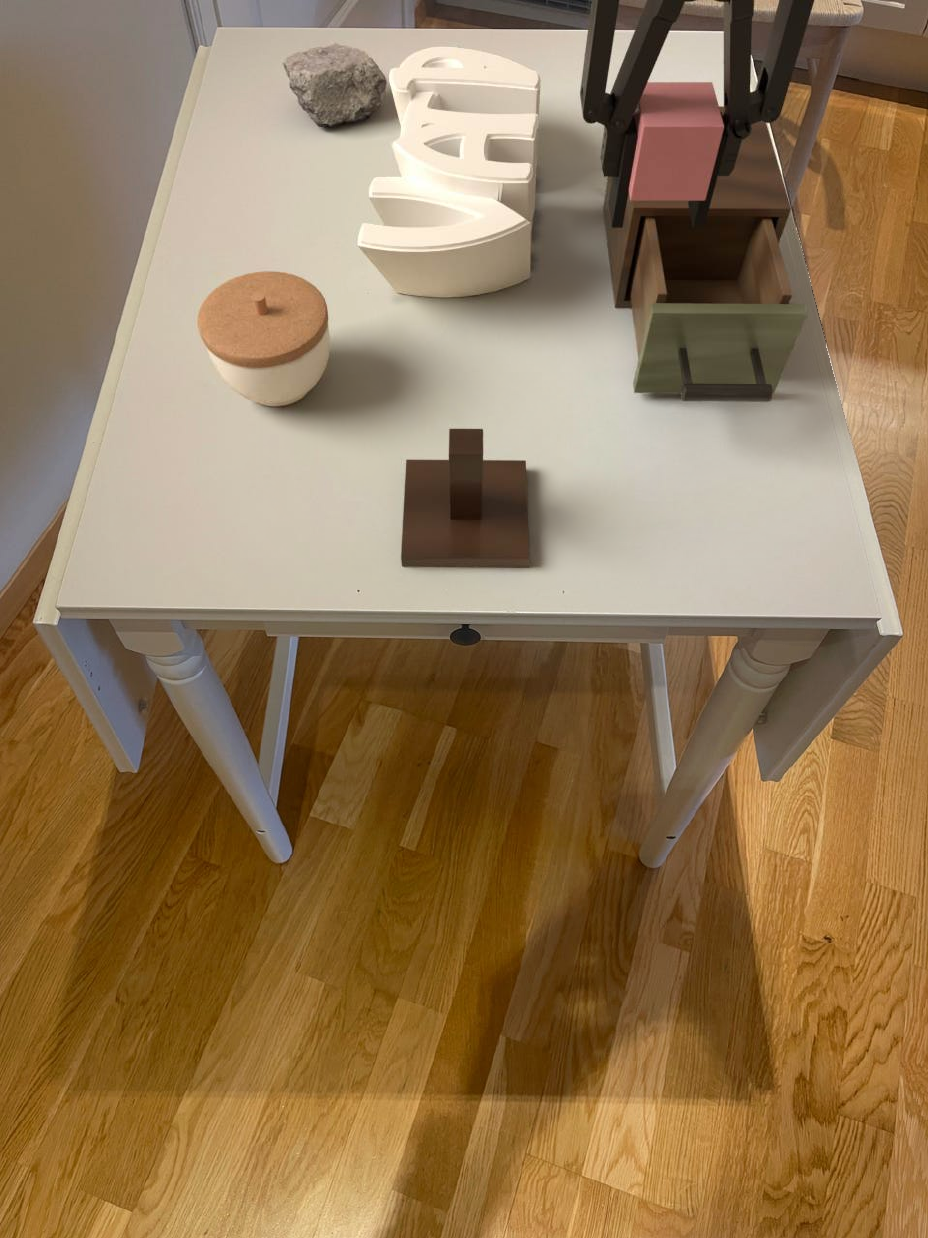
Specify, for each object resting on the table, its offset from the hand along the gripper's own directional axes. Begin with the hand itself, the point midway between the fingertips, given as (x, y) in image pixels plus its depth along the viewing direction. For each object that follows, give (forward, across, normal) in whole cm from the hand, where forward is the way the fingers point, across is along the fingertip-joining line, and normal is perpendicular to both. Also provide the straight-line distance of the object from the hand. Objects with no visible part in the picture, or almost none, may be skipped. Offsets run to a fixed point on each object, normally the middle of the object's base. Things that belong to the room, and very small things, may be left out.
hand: (655, 214), depth 62 cm
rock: (+19, +28, -46) cm, 57 cm away
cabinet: (+19, -8, -20) cm, 29 cm away
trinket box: (+19, +30, -3) cm, 36 cm away
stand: (+19, +14, +12) cm, 26 cm away
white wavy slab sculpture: (+19, +14, -27) cm, 36 cm away
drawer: (+18, -8, -5) cm, 20 cm away
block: (-3, 0, 0) cm, 3 cm away
